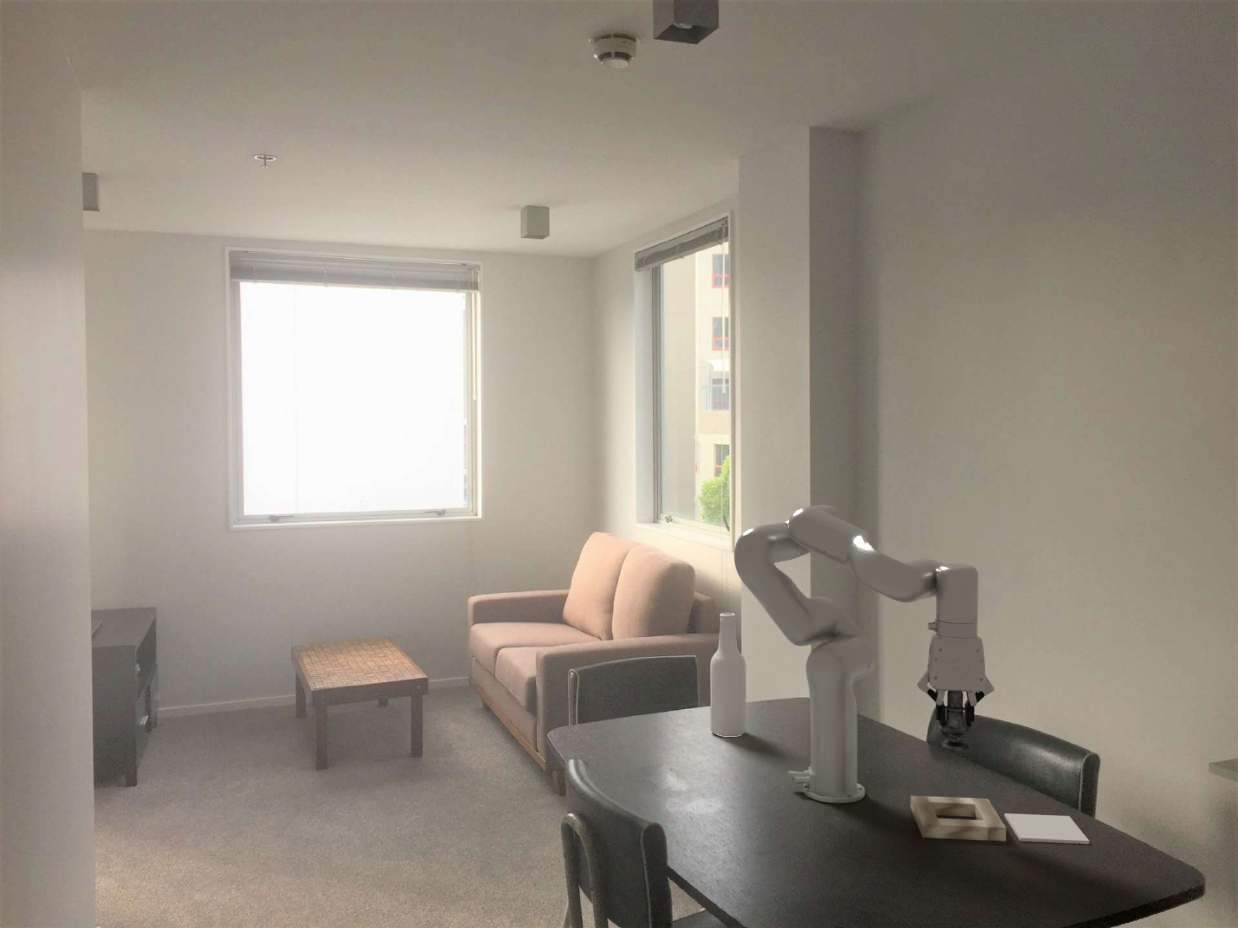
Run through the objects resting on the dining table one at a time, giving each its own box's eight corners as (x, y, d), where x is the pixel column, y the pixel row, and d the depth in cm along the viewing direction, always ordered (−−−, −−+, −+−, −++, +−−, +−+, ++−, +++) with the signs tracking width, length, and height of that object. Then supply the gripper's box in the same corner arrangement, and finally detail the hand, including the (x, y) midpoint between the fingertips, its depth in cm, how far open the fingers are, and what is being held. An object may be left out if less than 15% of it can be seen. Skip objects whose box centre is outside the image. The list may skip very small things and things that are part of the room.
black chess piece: (972, 751, 190) (973, 688, 190) (940, 749, 191) (941, 686, 191) (968, 742, 196) (969, 680, 196) (936, 740, 197) (937, 679, 197)
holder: (922, 837, 188) (922, 823, 188) (910, 807, 202) (910, 795, 202) (1005, 841, 186) (1006, 827, 186) (987, 811, 200) (987, 798, 200)
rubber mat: (1020, 840, 186) (1020, 837, 186) (1004, 816, 198) (1004, 813, 197) (1089, 843, 184) (1089, 840, 184) (1069, 818, 196) (1069, 815, 196)
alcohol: (751, 731, 255) (751, 612, 254) (737, 740, 247) (736, 618, 247) (719, 726, 260) (719, 609, 259) (704, 734, 252) (704, 615, 251)
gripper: (913, 632, 190) (912, 728, 191) (1007, 634, 188) (1005, 732, 189) (908, 624, 198) (906, 716, 198) (997, 626, 195) (995, 720, 196)
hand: (954, 723), depth 194 cm, fingers closed on black chess piece, 4 cm apart
